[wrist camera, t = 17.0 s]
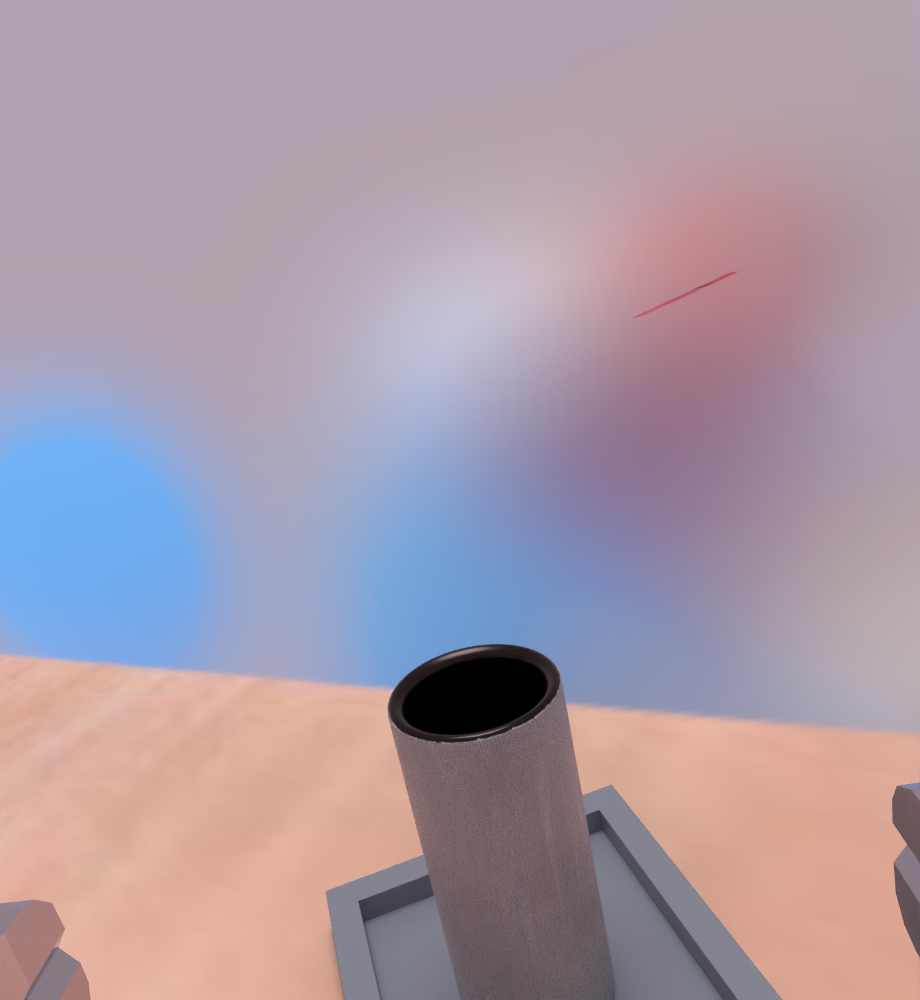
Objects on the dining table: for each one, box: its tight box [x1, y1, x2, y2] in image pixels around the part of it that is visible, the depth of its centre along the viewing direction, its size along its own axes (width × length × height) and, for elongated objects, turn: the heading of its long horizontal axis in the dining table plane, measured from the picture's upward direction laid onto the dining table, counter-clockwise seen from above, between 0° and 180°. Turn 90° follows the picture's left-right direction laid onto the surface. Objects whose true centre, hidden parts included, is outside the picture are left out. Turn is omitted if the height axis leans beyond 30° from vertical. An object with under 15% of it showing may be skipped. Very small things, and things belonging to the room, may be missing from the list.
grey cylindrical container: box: [388, 644, 614, 1000], centre depth 22 cm, size 4×4×10 cm
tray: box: [326, 785, 782, 1000], centre depth 24 cm, size 11×11×2 cm
